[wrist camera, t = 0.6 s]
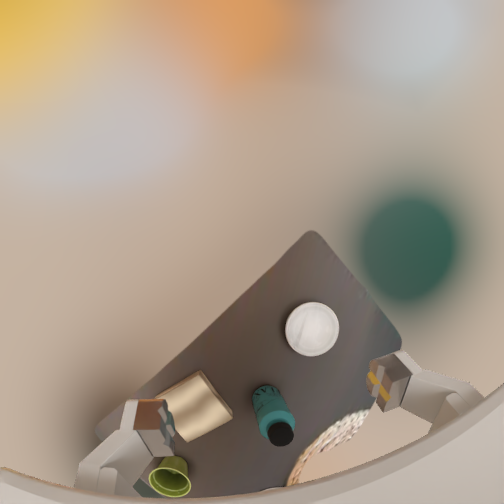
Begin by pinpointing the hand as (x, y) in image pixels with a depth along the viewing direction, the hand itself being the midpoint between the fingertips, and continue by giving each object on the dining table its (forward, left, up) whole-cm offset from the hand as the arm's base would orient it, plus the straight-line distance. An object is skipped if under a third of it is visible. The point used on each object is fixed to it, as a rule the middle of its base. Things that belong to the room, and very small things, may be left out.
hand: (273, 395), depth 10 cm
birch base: (-13, +19, -50) cm, 55 cm away
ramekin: (-12, -11, -50) cm, 53 cm away
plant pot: (-24, +34, -50) cm, 65 cm away
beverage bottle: (-20, +5, -50) cm, 54 cm away
